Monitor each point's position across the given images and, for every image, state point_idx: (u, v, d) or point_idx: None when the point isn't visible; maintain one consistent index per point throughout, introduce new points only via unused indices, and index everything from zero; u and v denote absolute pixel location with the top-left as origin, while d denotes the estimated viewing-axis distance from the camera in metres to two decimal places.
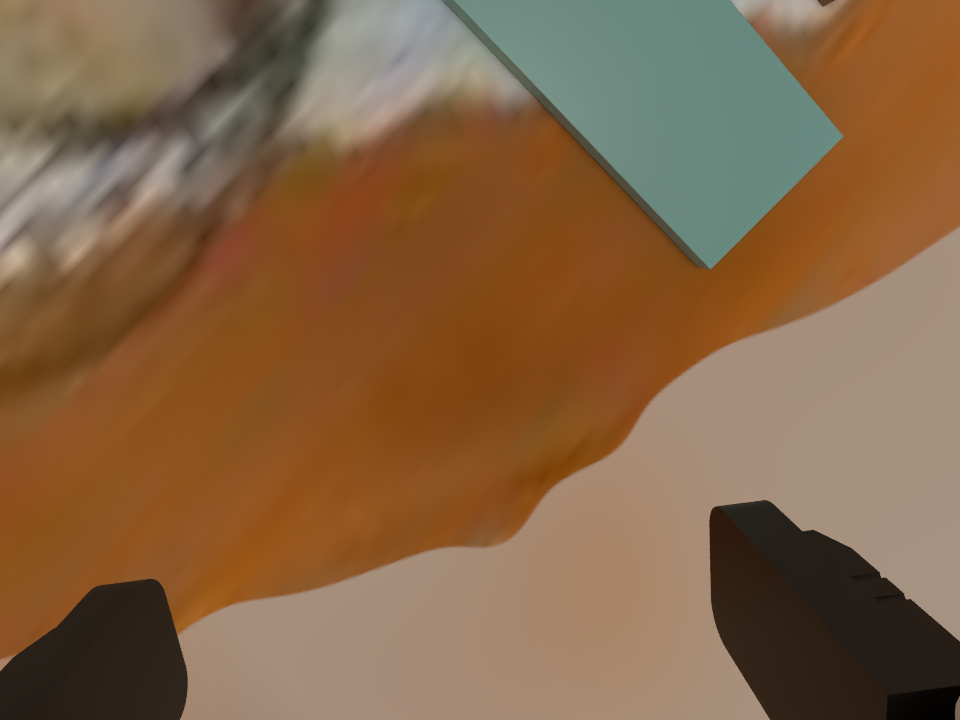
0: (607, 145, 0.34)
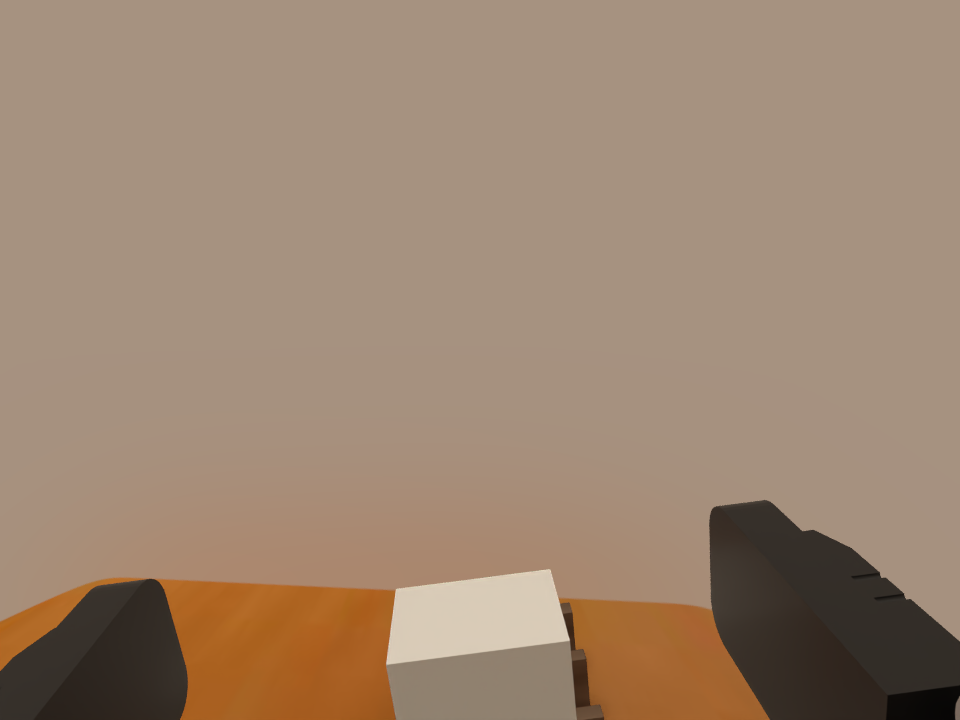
0: None
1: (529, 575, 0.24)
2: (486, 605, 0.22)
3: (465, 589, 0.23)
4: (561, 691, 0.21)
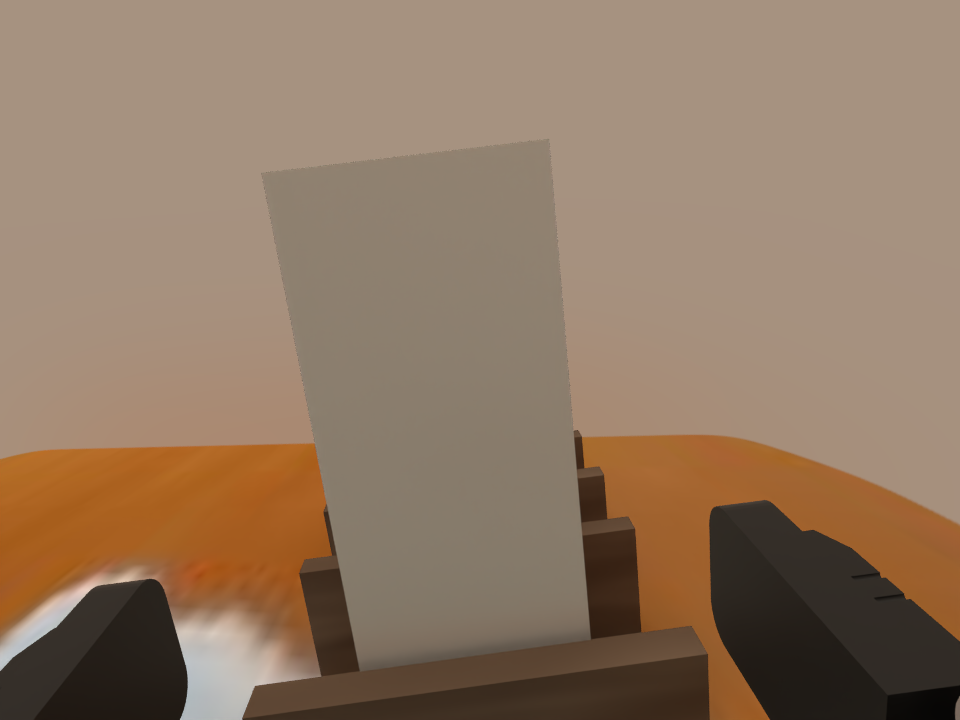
0: None
1: None
2: None
3: None
4: (536, 234, 0.13)
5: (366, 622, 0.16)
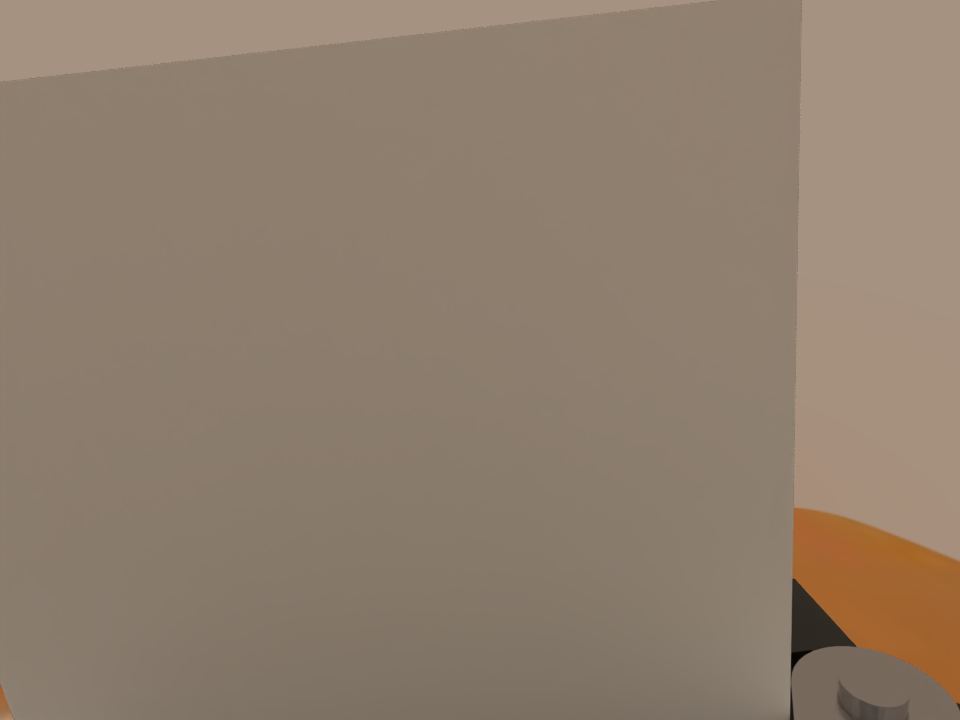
0: None
1: None
2: None
3: None
4: (731, 314, 0.04)
5: None
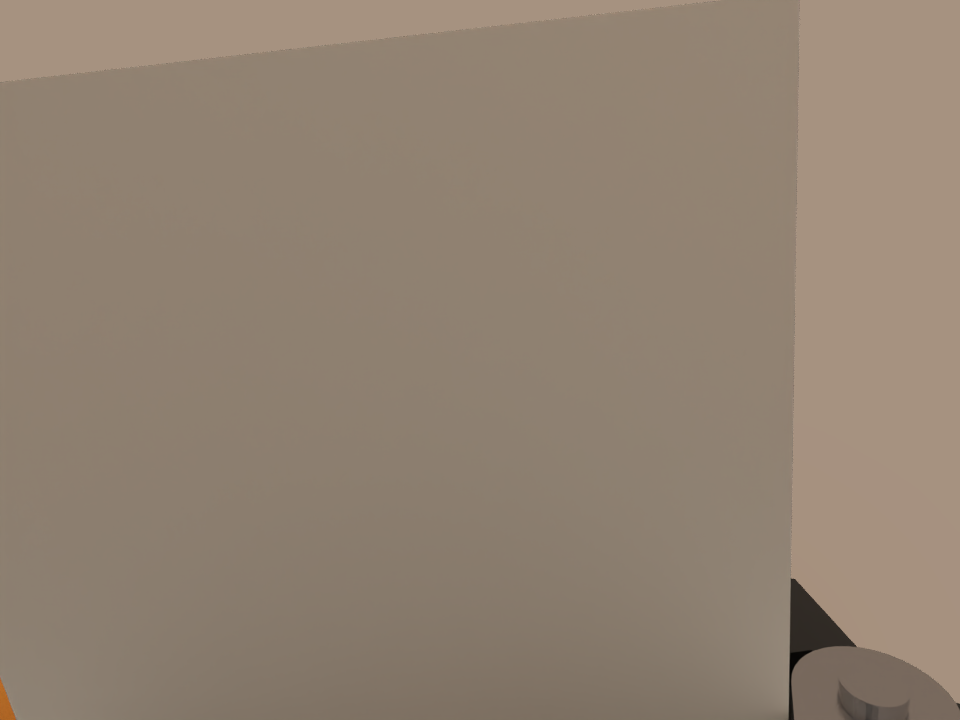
0: None
1: None
2: None
3: None
4: (731, 312, 0.04)
5: None
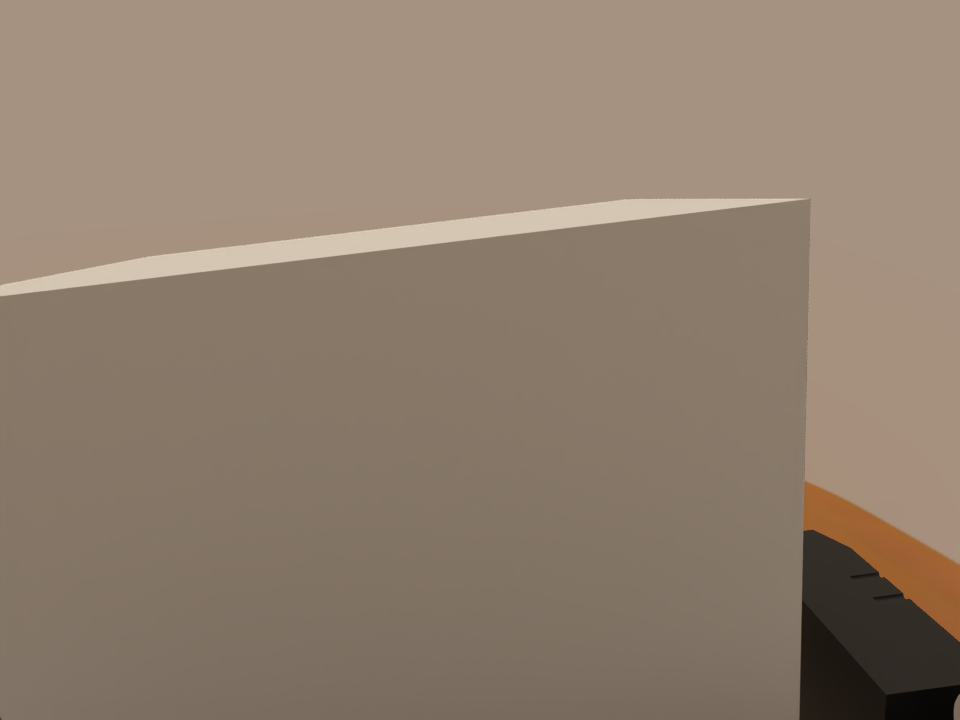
0: None
1: (565, 207, 0.08)
2: (418, 230, 0.06)
3: (358, 232, 0.07)
4: (742, 484, 0.04)
5: None
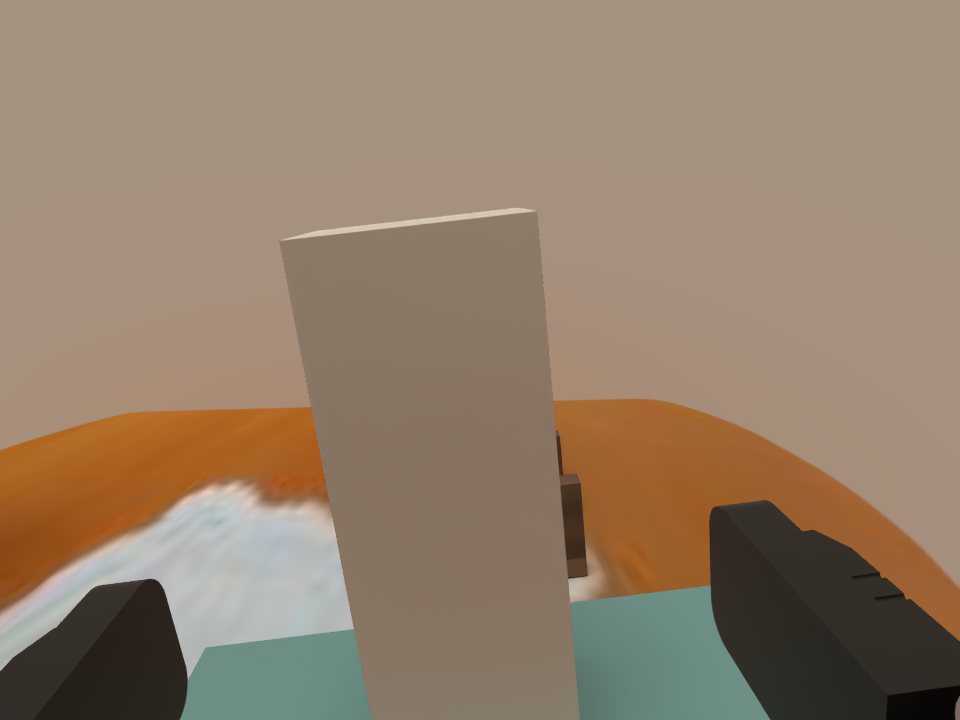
0: None
1: (490, 211, 0.18)
2: (429, 220, 0.17)
3: (404, 221, 0.18)
4: (525, 294, 0.15)
5: (370, 637, 0.17)
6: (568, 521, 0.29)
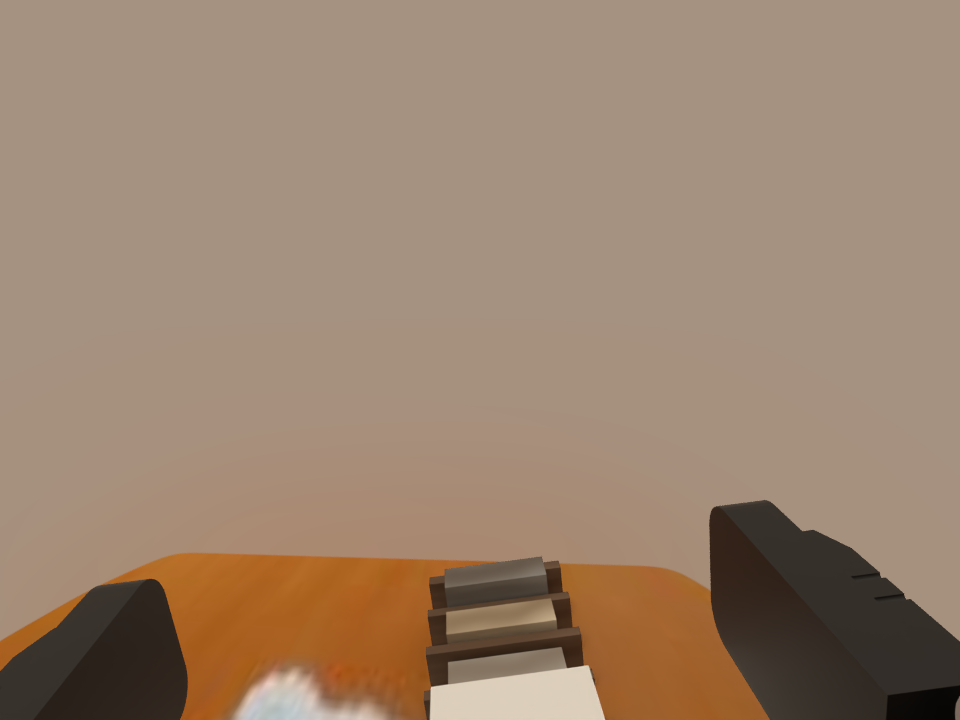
0: None
1: (567, 673, 0.23)
2: (526, 709, 0.22)
3: (502, 689, 0.23)
4: None
5: None
6: None
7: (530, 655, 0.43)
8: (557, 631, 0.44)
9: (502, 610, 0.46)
